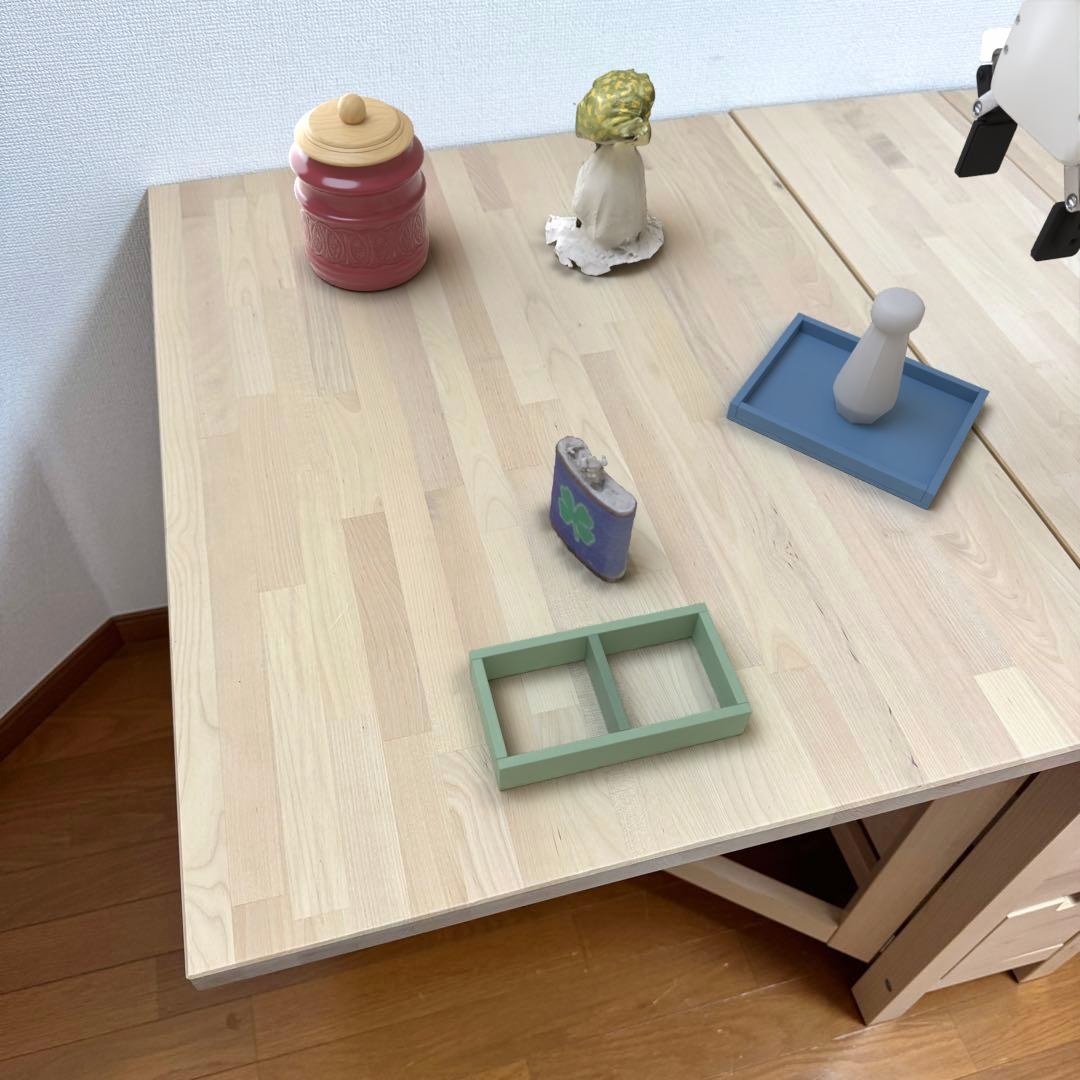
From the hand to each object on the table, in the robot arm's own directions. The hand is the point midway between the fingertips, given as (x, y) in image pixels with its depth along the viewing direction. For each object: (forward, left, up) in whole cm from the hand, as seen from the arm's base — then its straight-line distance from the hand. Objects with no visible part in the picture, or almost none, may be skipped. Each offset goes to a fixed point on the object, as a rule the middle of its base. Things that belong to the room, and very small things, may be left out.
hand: (1011, 213), depth 67 cm
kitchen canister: (+58, +1, -28) cm, 64 cm away
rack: (+10, +33, -28) cm, 44 cm away
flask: (+19, +21, -28) cm, 40 cm away
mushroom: (+39, -16, -28) cm, 50 cm away
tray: (+6, -7, -28) cm, 29 cm away
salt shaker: (+5, -7, -27) cm, 29 cm away
